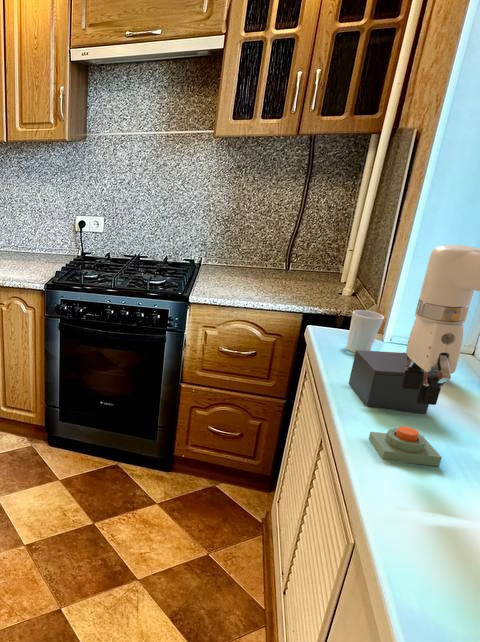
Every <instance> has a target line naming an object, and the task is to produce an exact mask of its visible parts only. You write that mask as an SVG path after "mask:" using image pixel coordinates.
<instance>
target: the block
mask: <svg viewBox="0 0 480 642" xmlns="http://www.w3.org/2000/svg"><path fill="white" fill-rule="evenodd" d="M397 428H398V427H395V428H389V429H388V430H387V432H380V431H379V432H377V431H370V432H369V435H368V440H369V442H370V443H371V444H372V446H373V447H374V449H375V451H376V452H377V453H378V455H379V456H380V458H381V459H382V460H385V461H393V462H397V463H398V462H399V463H403V464H413V465H423V466H431V467H440V465H441V462H442V458H443V457H442V456H441V455H440V454H439V452H438V451H437V450H436V449H435V448H434V446H432V445H431V443H430V442H429V441H428V440H427V439H426V438H425V437H424V436H423V435H421V434H419V435H418V439H417V441H416V442H410V441H405V440H402V439H400V438H398V437H396V432H397Z"/></svg>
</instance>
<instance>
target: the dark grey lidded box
mask: <svg viewBox="0 0 480 642" xmlns="http://www.w3.org/2000/svg"><path fill="white" fill-rule="evenodd" d="M349 375H350V376H349V380H348V385H349V386H350V387H351V389H352V391H353V392H354V394H356V396H357V397H358V399H359V400H360V401H361V403H362V404H363V405H364V407H366V408H373V409H379V410H380V409H381V410H387V411H388V410H389V411H396V412H402V413H411V414H412V413H413V414H425V415H427V412H428V409H429V404H419V403H417V402H416V399H417V395H418V392H419V390H416V389H404V388H402V386H401V385H402V382H403V378H404V376H402V375H387V374H374V373H373V371H372V370H371V369H370V368H369V367H368V366H367V365H366V364H365V363H364V362H363V361H362V360H361V358H360V357H359V356H358V355H357V354H356V353H355V352H354V358H353V362H352V367H351V371H350V374H349ZM431 378H432V377H430V379H431ZM423 382H424V377H423V381H422V384H423Z"/></svg>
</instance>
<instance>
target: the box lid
mask: <svg viewBox="0 0 480 642" xmlns="http://www.w3.org/2000/svg"><path fill="white" fill-rule="evenodd" d="M355 353H356V354H357V355H358V356H359V357H360V358H361V360H362V361H363V362H364V363H365V364H366V365H367V366H368V367H369V368H370V369H371V370H372V371H373V373H374V374H387V375H402V376H404V374H405V370H408V369H406V368H405V366H406V364H407V362H408V360H407V354H406V352H396V351H377V350H370V351H361V350H356V352H354V354H355ZM431 370H435V369H434V368H432V367H431ZM422 371H424V370H422ZM434 376H435V377H436V376H437V374H434V373H430V377H434Z"/></svg>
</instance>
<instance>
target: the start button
mask: <svg viewBox="0 0 480 642" xmlns="http://www.w3.org/2000/svg"><path fill="white" fill-rule="evenodd" d="M396 428H397V432H396V437H398V438H400V439H402V440H405V441H410V442H416V441H417V439H418V435H420V432H419V431H418V430H417V429H415V428H412V427H410V426H398V427H396Z"/></svg>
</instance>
